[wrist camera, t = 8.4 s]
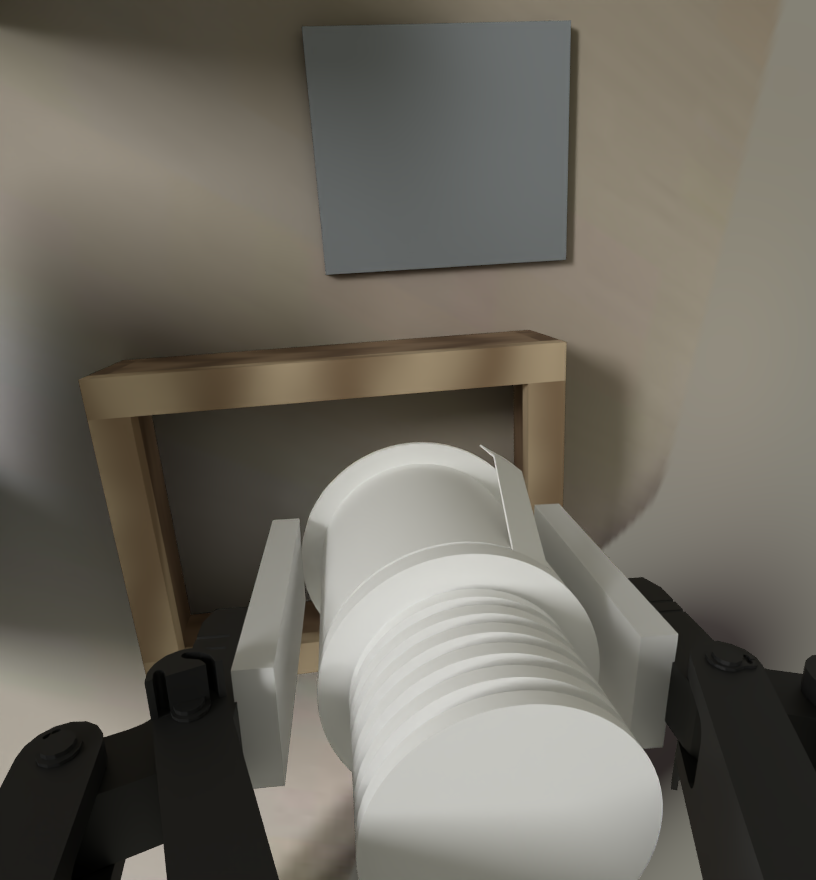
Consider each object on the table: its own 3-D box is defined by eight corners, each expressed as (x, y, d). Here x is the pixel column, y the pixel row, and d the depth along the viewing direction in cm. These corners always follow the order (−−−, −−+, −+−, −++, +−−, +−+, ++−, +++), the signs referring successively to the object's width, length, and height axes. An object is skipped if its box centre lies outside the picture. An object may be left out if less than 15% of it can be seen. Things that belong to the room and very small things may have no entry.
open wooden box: (177, 629, 38) (150, 693, 33) (122, 360, 33) (78, 379, 27) (528, 588, 41) (560, 640, 35) (529, 329, 35) (566, 342, 30)
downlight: (445, 690, 19) (557, 1078, 10) (253, 607, 18) (163, 976, 8) (574, 490, 18) (847, 711, 9) (382, 382, 17) (453, 505, 7)
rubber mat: (325, 274, 33) (325, 274, 33) (302, 31, 30) (301, 26, 29) (562, 259, 34) (566, 259, 34) (566, 24, 31) (570, 20, 30)
